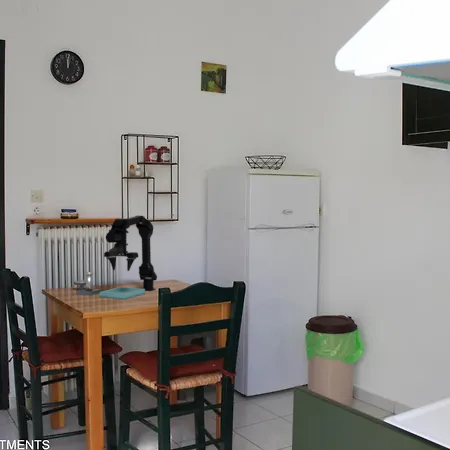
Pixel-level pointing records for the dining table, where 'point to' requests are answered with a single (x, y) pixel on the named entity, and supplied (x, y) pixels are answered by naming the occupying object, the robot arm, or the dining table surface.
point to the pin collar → (88, 292)
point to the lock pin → (88, 281)
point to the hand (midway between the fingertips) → (121, 270)
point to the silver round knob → (80, 283)
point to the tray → (122, 293)
